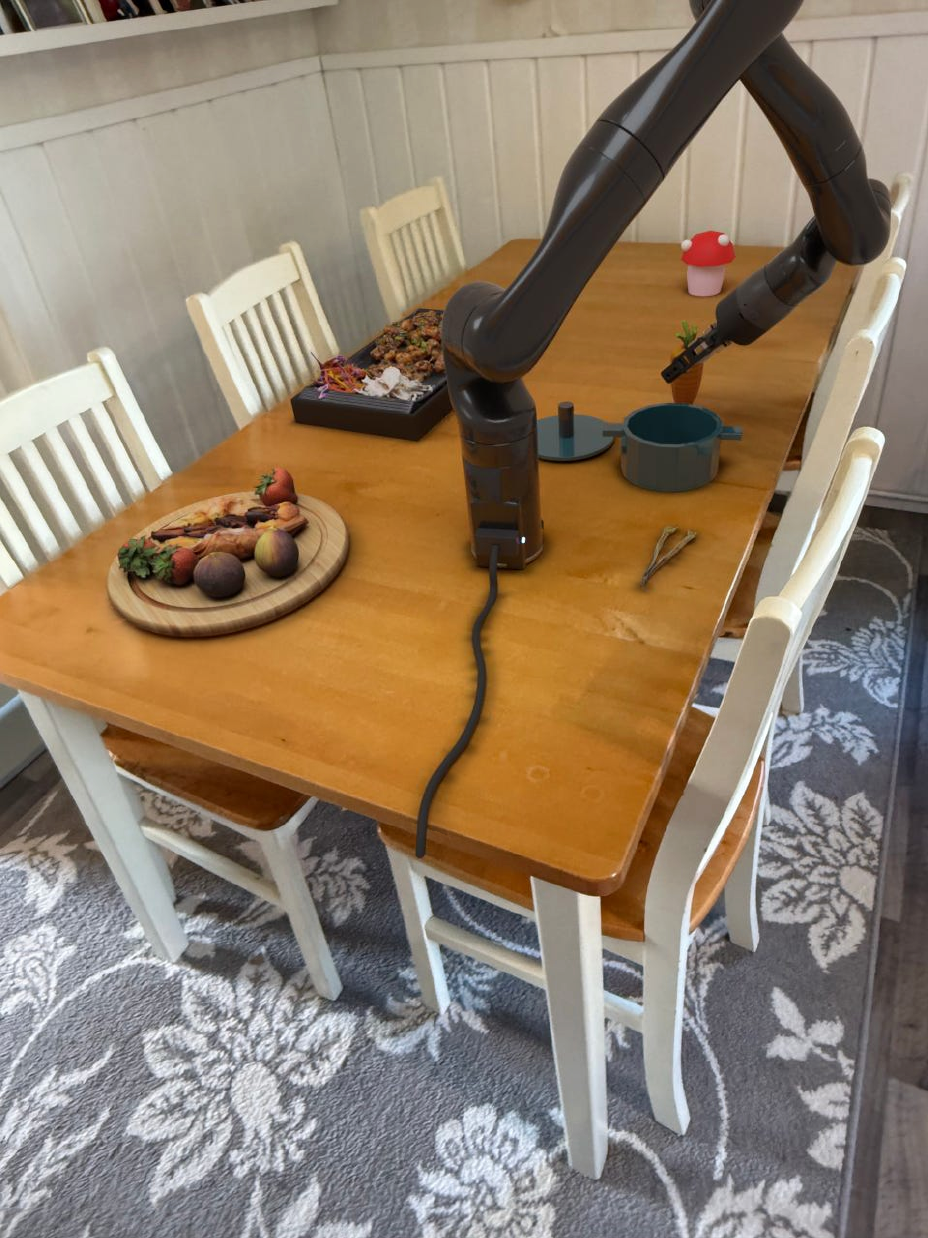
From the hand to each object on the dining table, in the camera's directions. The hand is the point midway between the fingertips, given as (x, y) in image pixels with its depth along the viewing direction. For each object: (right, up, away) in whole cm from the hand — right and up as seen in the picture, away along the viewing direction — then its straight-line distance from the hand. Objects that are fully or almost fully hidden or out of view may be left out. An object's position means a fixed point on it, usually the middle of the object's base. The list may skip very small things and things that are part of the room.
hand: (679, 368), depth 132 cm
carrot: (+2, -7, +4) cm, 8 cm away
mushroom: (+18, +31, +49) cm, 60 cm away
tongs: (-8, -32, -26) cm, 42 cm away
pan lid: (-17, -11, +1) cm, 20 cm away
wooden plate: (-64, -32, -17) cm, 74 cm away
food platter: (-42, +6, +26) cm, 49 cm away
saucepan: (-4, -17, -8) cm, 19 cm away
